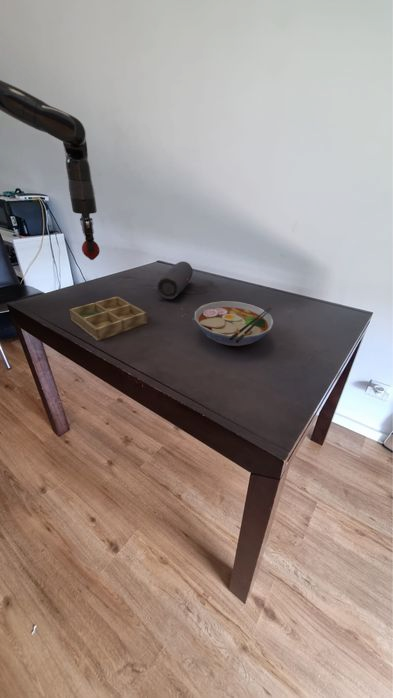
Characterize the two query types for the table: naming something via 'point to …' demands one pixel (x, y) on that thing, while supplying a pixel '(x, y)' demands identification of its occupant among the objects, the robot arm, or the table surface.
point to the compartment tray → (108, 317)
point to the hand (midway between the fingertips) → (90, 249)
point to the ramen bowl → (233, 322)
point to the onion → (90, 255)
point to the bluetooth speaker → (175, 280)
